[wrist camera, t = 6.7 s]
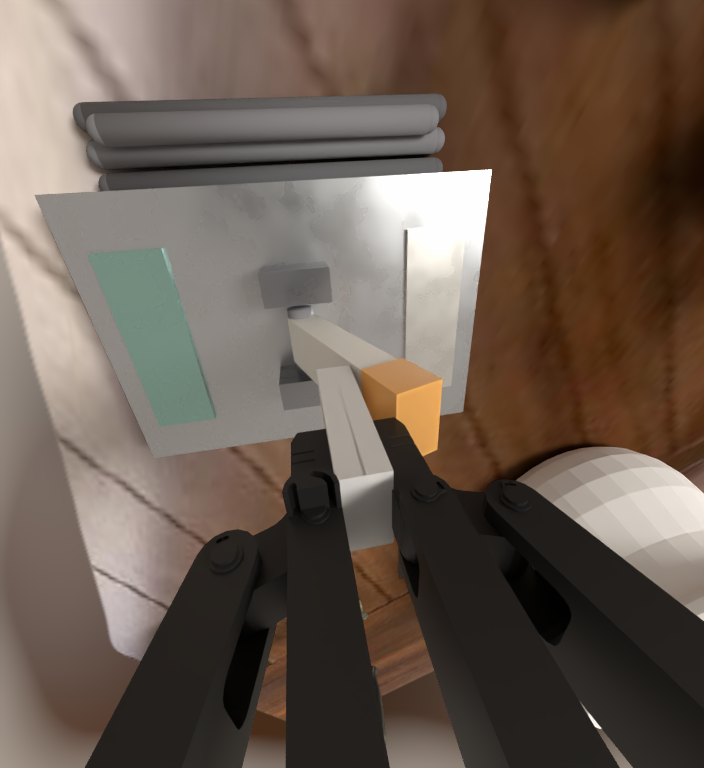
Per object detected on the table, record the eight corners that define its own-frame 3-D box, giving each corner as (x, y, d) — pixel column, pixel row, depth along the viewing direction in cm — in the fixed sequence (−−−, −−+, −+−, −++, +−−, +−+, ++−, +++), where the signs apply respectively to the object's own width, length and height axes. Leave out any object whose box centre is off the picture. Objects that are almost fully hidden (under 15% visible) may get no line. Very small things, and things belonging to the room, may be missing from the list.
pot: (667, 403, 37) (939, 535, 21) (633, 533, 48) (792, 678, 33) (455, 474, 36) (576, 661, 21) (472, 588, 48) (557, 762, 32)
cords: (77, 107, 18) (44, 89, 15) (441, 98, 20) (461, 81, 18) (111, 202, 20) (87, 199, 17) (437, 182, 22) (454, 178, 20)
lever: (280, 308, 20) (396, 384, 10) (309, 303, 21) (443, 368, 11) (290, 364, 22) (396, 476, 12) (316, 358, 23) (436, 457, 13)
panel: (69, 198, 19) (-14, 190, 14) (468, 175, 22) (522, 161, 17) (167, 435, 28) (137, 485, 22) (448, 395, 31) (480, 431, 26)
